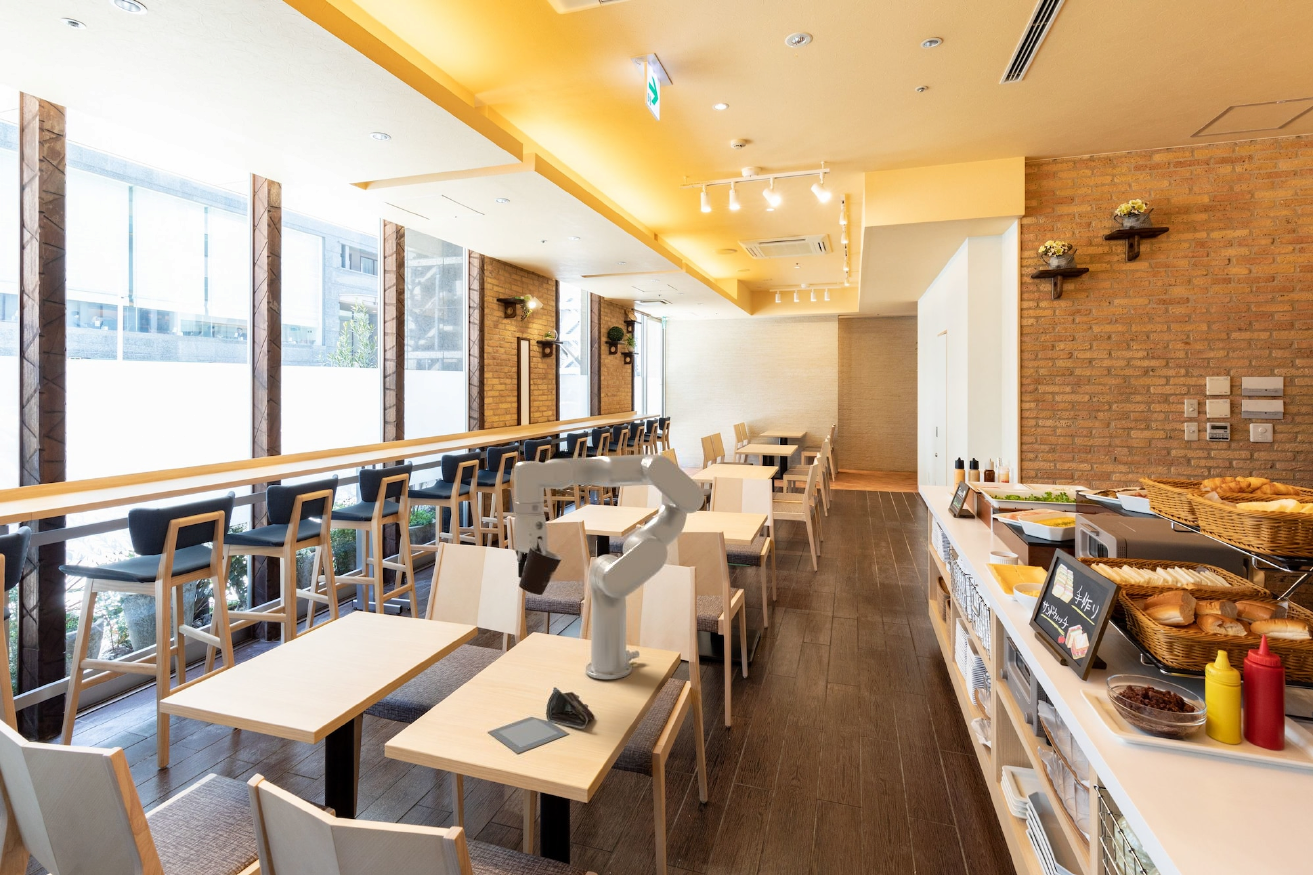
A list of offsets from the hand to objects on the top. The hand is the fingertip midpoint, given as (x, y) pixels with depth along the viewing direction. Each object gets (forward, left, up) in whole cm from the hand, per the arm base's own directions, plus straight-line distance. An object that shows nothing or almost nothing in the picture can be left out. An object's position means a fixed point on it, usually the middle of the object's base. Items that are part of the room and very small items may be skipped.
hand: (529, 577), depth 166 cm
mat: (+13, +21, -29) cm, 38 cm away
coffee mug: (+1, +3, -3) cm, 4 cm away
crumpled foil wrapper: (+2, +27, -31) cm, 41 cm away
